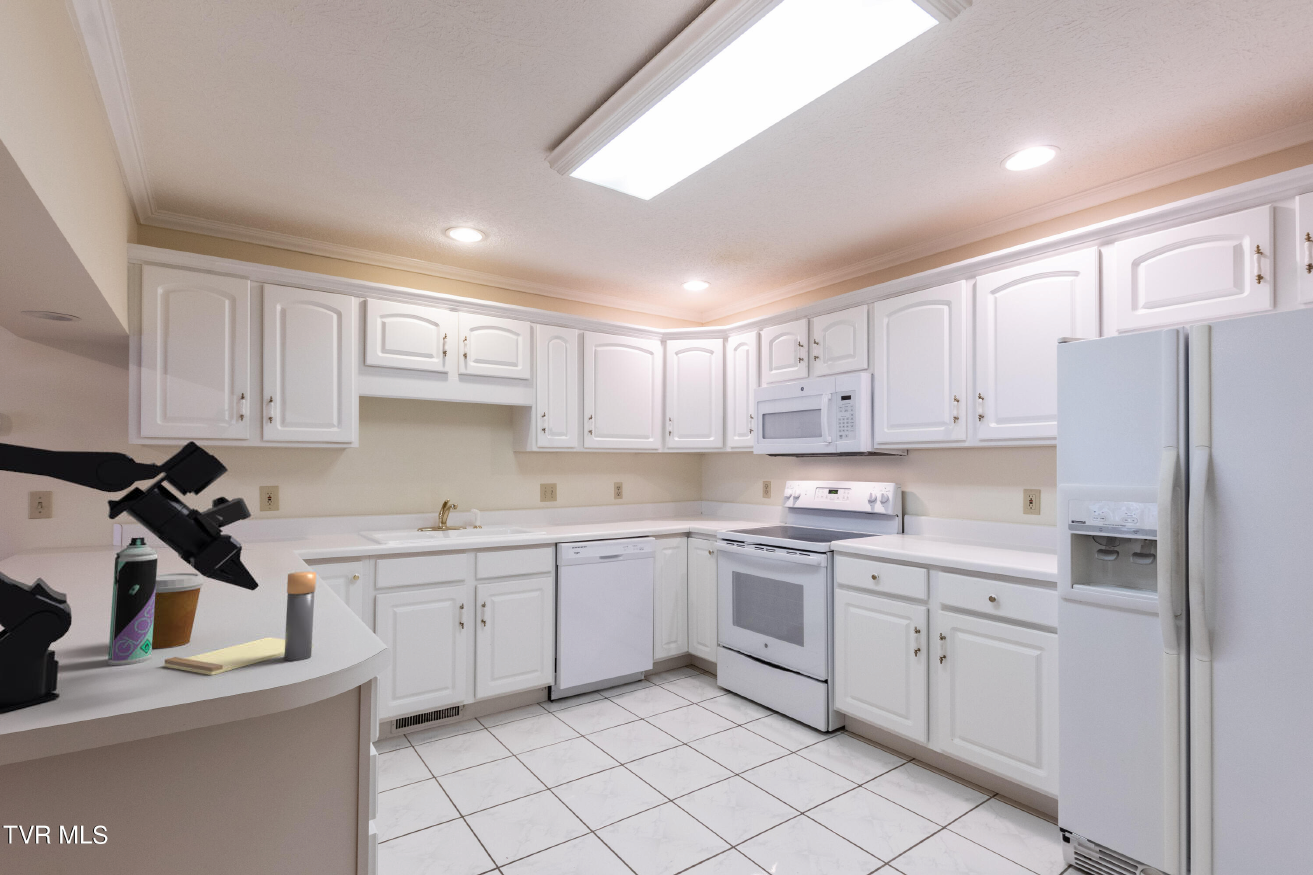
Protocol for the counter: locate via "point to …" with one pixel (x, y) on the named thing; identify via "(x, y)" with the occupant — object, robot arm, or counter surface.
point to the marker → (299, 615)
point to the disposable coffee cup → (175, 608)
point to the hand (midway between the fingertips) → (249, 584)
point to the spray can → (133, 604)
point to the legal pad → (230, 657)
